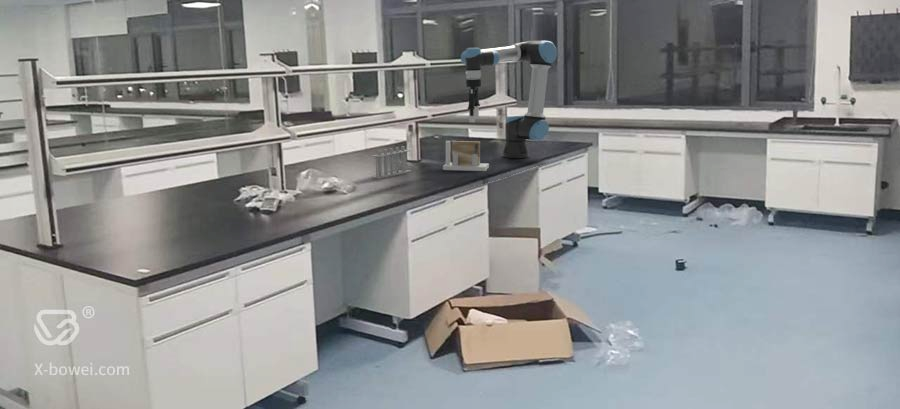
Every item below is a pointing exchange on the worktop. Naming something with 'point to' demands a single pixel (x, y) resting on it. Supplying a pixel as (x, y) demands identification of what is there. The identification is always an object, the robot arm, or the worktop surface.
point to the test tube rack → (391, 163)
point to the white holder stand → (463, 167)
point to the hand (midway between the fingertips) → (474, 120)
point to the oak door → (465, 151)
